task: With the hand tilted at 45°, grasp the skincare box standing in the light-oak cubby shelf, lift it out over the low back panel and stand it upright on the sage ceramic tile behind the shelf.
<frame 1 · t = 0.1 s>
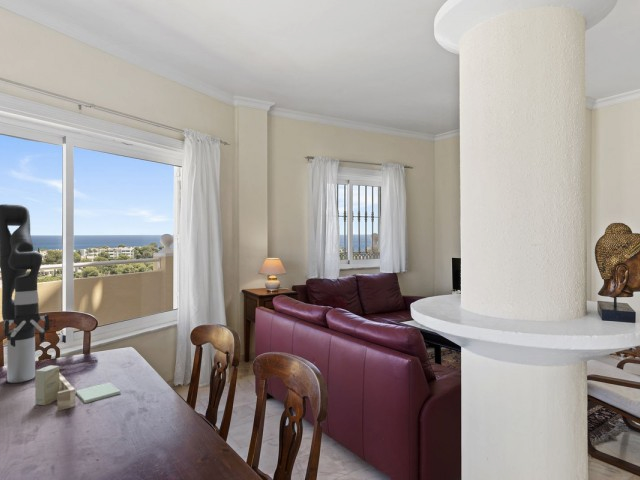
hand: (27, 344, 152), 17 cm above the table, tool pointing down, fingers open, 8 cm apart
skincare box: (47, 402, 141), on the table
oak cubby: (59, 398, 143), on the table
sage tile: (98, 393, 148), on the table
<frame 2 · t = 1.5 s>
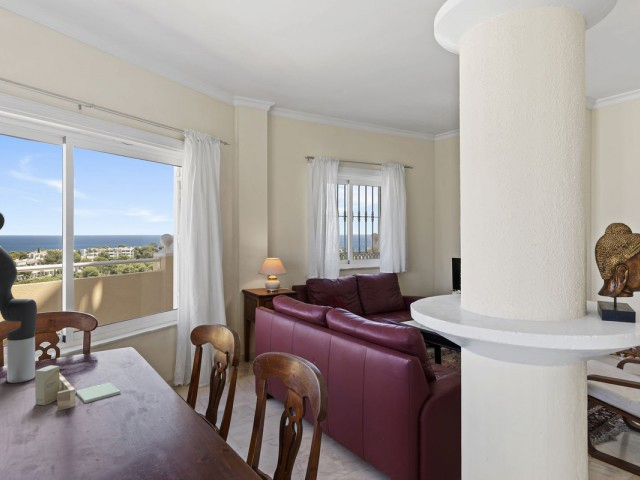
nothing on the table moved.
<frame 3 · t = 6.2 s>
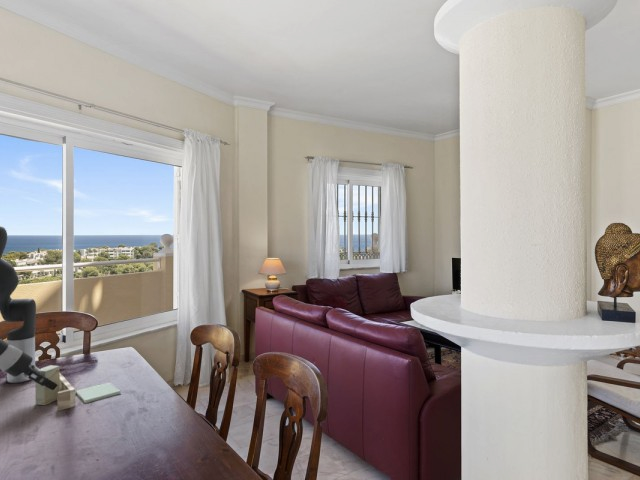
hand: (52, 384, 142), 6 cm above the table, tool tilted 45°, fingers closed on skincare box, 6 cm apart
skincare box: (47, 401, 141), on the table, touching gripper
when the fingers open (8 cm above the table, at t = 12.8 s): skincare box drops 2 cm, resting on sage tile.
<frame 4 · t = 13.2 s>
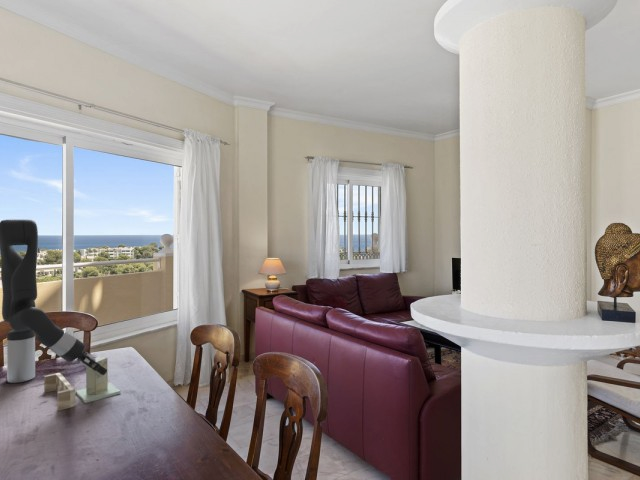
hand: (101, 369, 149), 9 cm above the table, tool tilted 45°, fingers open, 8 cm apart
skincare box: (97, 391, 148), point 1 cm above the table, touching sage tile
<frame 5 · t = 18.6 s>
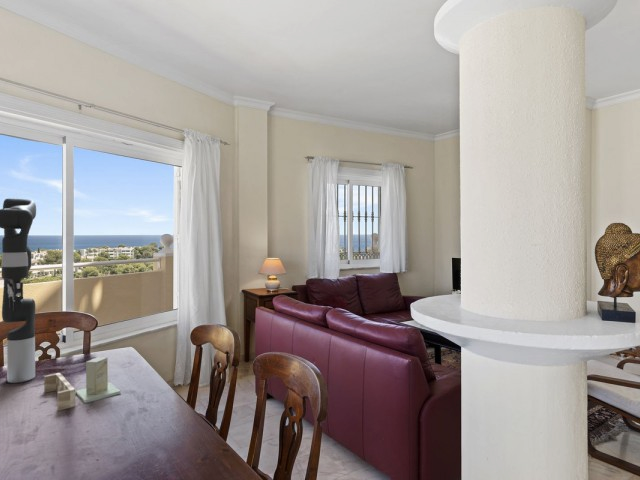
hand: (15, 310, 140), 33 cm above the table, tool pointing down, fingers open, 8 cm apart
nothing on the table moved.
at the end: skincare box inside the target area on the sage tile (0.4 cm from its centre), point 0.8 cm above the sage tile's base; skincare box tilted 0°; the gripper is holding nothing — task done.
